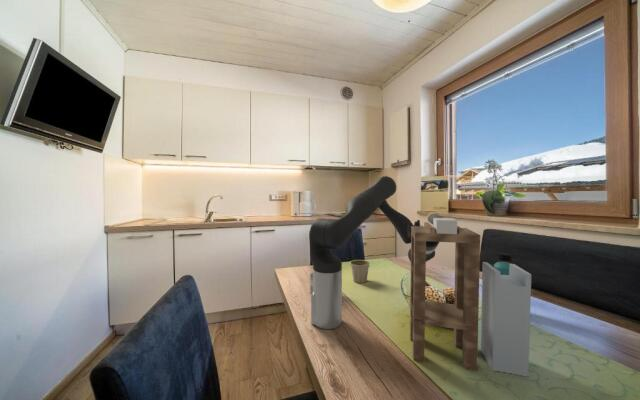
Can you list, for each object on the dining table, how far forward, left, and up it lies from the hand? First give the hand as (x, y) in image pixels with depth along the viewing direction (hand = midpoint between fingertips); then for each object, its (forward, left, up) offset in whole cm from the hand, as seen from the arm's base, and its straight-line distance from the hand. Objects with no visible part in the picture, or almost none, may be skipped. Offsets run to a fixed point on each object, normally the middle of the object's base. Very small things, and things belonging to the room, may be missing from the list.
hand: (433, 223), depth 75 cm
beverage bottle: (+26, +19, -32) cm, 46 cm away
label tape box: (-40, +17, -32) cm, 54 cm away
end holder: (+14, -12, -32) cm, 37 cm away
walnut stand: (0, -12, -32) cm, 34 cm away
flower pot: (-26, +34, -32) cm, 54 cm away
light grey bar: (0, -7, +1) cm, 7 cm away
